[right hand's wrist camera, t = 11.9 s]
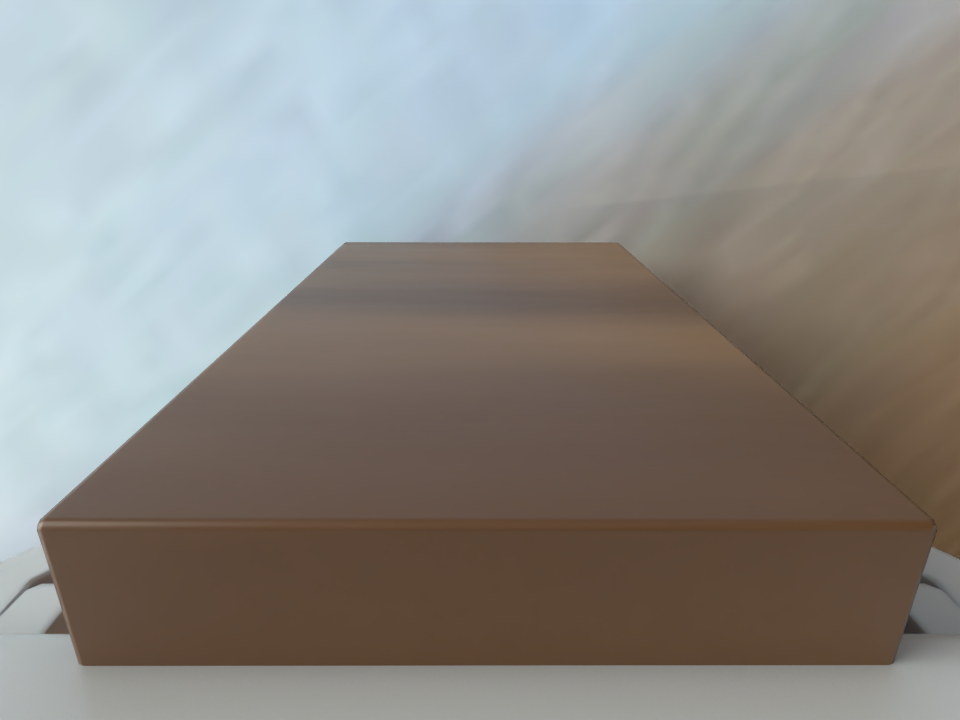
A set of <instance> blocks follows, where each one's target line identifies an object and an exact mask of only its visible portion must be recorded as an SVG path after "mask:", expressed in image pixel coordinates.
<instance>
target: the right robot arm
mask: <svg viewBox="0 0 960 720" xmlns="http://www.w3.org/2000/svg"><path fill="white" fill-rule="evenodd" d="M0 720H960V559H958V558H956V557H954V556H952V555H950V554H947V553H945V552H943V551H941V550H939V549H936V548H934V547H931V550H930V553H929V556H928V559H927V562H926V565H925V568H924V571H923V574H922V577H921V581H920V584H919V587H918V590H917V593H916V596H915V599H914V602H913V605H912V608H911V611H910V614H909V617H908V620H907V624H906V627H905V630H904V633H903V636H902V639H901V642H900V645H899V648H898V651H897V654H896V657H895V660H894V663H893V664H890V665H535V666H83V665H80V664H79V663H78V660H77V657H76V654H75V650H74V647H73V644H72V641H71V638H70V634H69V631H68V628H67V625H66V622H65V618H64V615H63V612H62V609H61V606H60V602H59V599H58V596H57V593H56V590H55V586H54V583H53V580H52V577H51V573H50V570H49V567H48V564H47V561H46V557H45V554H44V551H43V548H42V545H41V544H39V545H37V546H35V547H33V548H31V549H28V550H26V551H24V552H22V553H20V554H17V555H15V556H13V557H11V558H9V559H6V560H4V561H2V562H0Z"/></svg>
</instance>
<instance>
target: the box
mask: <svg viewBox="0 0 960 720" xmlns="http://www.w3.org/2000/svg"><path fill="white" fill-rule="evenodd" d="M936 531H937V529H936V524H935V522H934V520H933V519H932V518H931V517H930V516H928V515H927V514H926V513H925V512H924V511H923V510H922V509H920V508H919V507H918V506H917V505H916V504H915V503H914V502H913V501H911V500H910V499H909V498H908V497H907V496H906V495H905V494H903V493H902V492H901V491H900V490H899V489H898V488H897V487H895V486H894V485H893V484H892V483H891V482H890V481H889V480H887V479H886V478H885V477H884V476H883V475H882V474H881V473H879V472H878V471H877V470H876V469H875V468H874V467H873V466H872V465H870V464H869V463H868V462H867V461H866V460H865V459H864V458H862V457H861V456H860V455H859V454H858V453H857V452H856V451H854V450H853V449H852V448H851V447H850V446H849V445H848V444H846V443H845V442H844V441H843V440H842V439H841V438H840V437H839V436H837V435H836V434H835V433H834V432H833V431H832V430H831V429H829V428H828V427H827V426H826V425H825V424H824V423H823V422H821V421H820V420H819V419H818V418H817V417H816V416H815V415H813V414H812V413H811V412H810V411H809V410H808V409H807V408H806V407H804V406H803V405H802V404H801V403H800V402H799V401H798V400H796V399H795V398H794V397H793V396H792V395H791V394H790V393H788V392H787V391H786V390H785V389H784V388H783V387H782V386H780V385H779V384H778V383H777V382H776V381H775V380H774V379H772V378H771V377H770V376H769V375H768V374H767V373H766V372H765V371H763V370H762V369H761V368H760V367H759V366H758V365H757V364H755V363H754V362H753V361H752V360H751V359H750V358H749V357H747V356H746V355H745V354H744V353H743V352H742V351H741V350H739V349H738V348H737V347H736V346H735V345H734V344H733V343H732V342H730V341H729V340H728V339H727V338H726V337H725V336H724V335H722V334H721V333H720V332H719V331H718V330H717V329H716V328H714V327H713V326H712V325H711V324H710V323H709V322H708V321H706V320H705V319H704V318H703V317H702V316H701V315H700V314H699V313H697V312H696V311H695V310H694V309H693V308H692V307H691V306H689V305H688V304H687V303H686V302H685V301H684V300H683V299H681V298H680V297H679V296H678V295H677V294H676V293H675V292H673V291H672V290H671V289H670V288H669V287H668V286H667V285H665V284H664V283H663V282H662V281H661V280H660V279H659V278H658V277H656V276H655V275H654V274H653V273H652V272H651V271H650V270H648V269H647V268H646V267H645V266H644V265H643V264H642V263H640V262H639V261H638V260H637V259H636V258H635V257H634V256H632V255H631V254H630V253H629V252H628V251H627V250H626V249H625V248H623V247H622V246H621V245H620V244H619V243H399V242H346V243H344V244H343V245H342V246H341V247H339V248H338V249H337V250H336V251H335V252H334V253H333V254H332V255H331V256H330V257H328V258H327V259H326V260H325V261H324V262H323V263H322V264H321V265H320V266H319V267H317V268H316V269H315V270H314V271H313V272H312V273H311V274H310V275H309V276H308V277H306V278H305V279H304V280H303V281H302V282H301V283H300V284H299V285H298V286H297V287H295V288H294V289H293V290H292V291H291V292H290V293H289V294H288V295H287V296H286V297H284V298H283V299H282V300H281V301H280V302H279V303H278V304H277V305H276V306H275V307H273V308H272V309H271V310H270V311H269V312H268V313H267V314H266V315H265V316H264V317H262V318H261V319H260V320H259V321H258V322H257V323H256V324H255V325H254V326H253V327H251V328H250V329H249V330H248V331H247V332H246V333H245V334H244V335H243V336H242V337H241V338H239V339H238V340H237V341H236V342H235V343H234V344H233V345H232V346H231V347H230V348H228V349H227V350H226V351H225V352H224V353H223V354H222V355H221V356H220V357H219V358H217V359H216V360H215V361H214V362H213V363H212V364H211V365H210V366H209V367H208V368H206V369H205V370H204V371H203V372H202V373H201V374H200V375H199V376H198V377H197V378H195V379H194V380H193V381H192V382H191V383H190V384H189V385H188V386H187V387H186V388H184V389H183V390H182V391H181V392H180V393H179V394H178V395H177V396H176V397H175V398H173V399H172V400H171V401H170V402H169V403H168V404H167V405H166V406H165V407H164V408H162V409H161V410H160V411H159V412H158V413H157V414H156V415H155V416H154V417H153V418H151V419H150V420H149V421H148V422H147V423H146V424H145V425H144V426H143V427H142V428H140V429H139V430H138V431H137V432H136V433H135V434H134V435H133V436H132V437H131V438H129V439H128V440H127V441H126V442H125V443H124V444H123V445H122V446H121V447H120V448H118V449H117V450H116V451H115V452H114V453H113V454H112V455H111V456H110V457H109V458H107V459H106V460H105V461H104V462H103V463H102V464H101V465H100V466H99V467H98V468H96V469H95V470H94V471H93V472H92V473H91V474H90V475H89V476H88V477H87V478H85V479H84V480H83V481H82V482H81V483H80V484H79V485H78V486H77V487H76V488H74V489H73V490H72V491H71V492H70V493H69V494H68V495H67V496H66V497H65V498H63V499H62V500H61V501H60V502H59V503H58V504H57V505H56V506H55V507H54V508H52V509H51V510H50V511H49V512H48V513H47V514H46V515H45V516H44V517H43V518H41V519H40V521H39V523H38V527H37V532H38V535H39V538H40V541H41V545H42V548H43V551H44V554H45V557H46V561H47V564H48V567H49V570H50V573H51V577H52V580H53V583H54V586H55V590H56V593H57V596H58V599H59V602H60V606H61V609H62V612H63V615H64V618H65V622H66V625H67V628H68V631H69V634H70V638H71V641H72V644H73V647H74V650H75V654H76V657H77V660H78V663H79V664H80V665H83V666H535V665H890V664H893V663H894V660H895V657H896V654H897V651H898V648H899V645H900V642H901V639H902V636H903V633H904V630H905V627H906V624H907V620H908V617H909V614H910V611H911V608H912V605H913V602H914V599H915V596H916V593H917V590H918V587H919V584H920V581H921V577H922V574H923V571H924V568H925V565H926V562H927V559H928V556H929V553H930V550H931V547H932V544H933V541H934V538H935V534H936Z"/></svg>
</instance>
